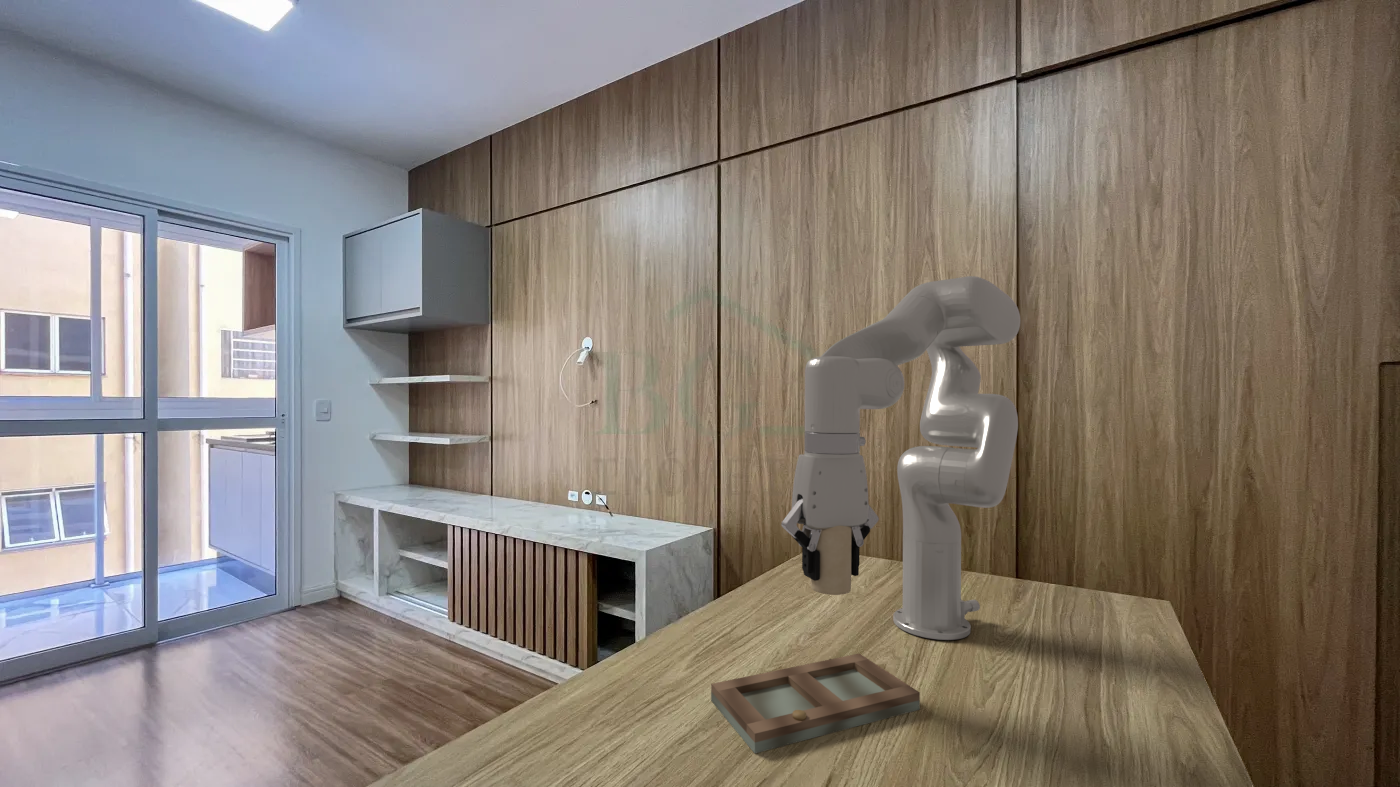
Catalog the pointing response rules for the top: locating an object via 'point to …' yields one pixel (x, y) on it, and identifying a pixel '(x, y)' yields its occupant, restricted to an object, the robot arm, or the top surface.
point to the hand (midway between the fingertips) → (830, 574)
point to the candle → (834, 561)
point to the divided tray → (811, 700)
